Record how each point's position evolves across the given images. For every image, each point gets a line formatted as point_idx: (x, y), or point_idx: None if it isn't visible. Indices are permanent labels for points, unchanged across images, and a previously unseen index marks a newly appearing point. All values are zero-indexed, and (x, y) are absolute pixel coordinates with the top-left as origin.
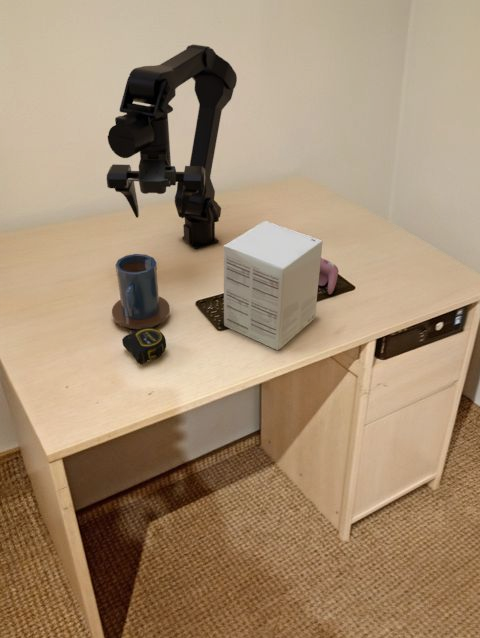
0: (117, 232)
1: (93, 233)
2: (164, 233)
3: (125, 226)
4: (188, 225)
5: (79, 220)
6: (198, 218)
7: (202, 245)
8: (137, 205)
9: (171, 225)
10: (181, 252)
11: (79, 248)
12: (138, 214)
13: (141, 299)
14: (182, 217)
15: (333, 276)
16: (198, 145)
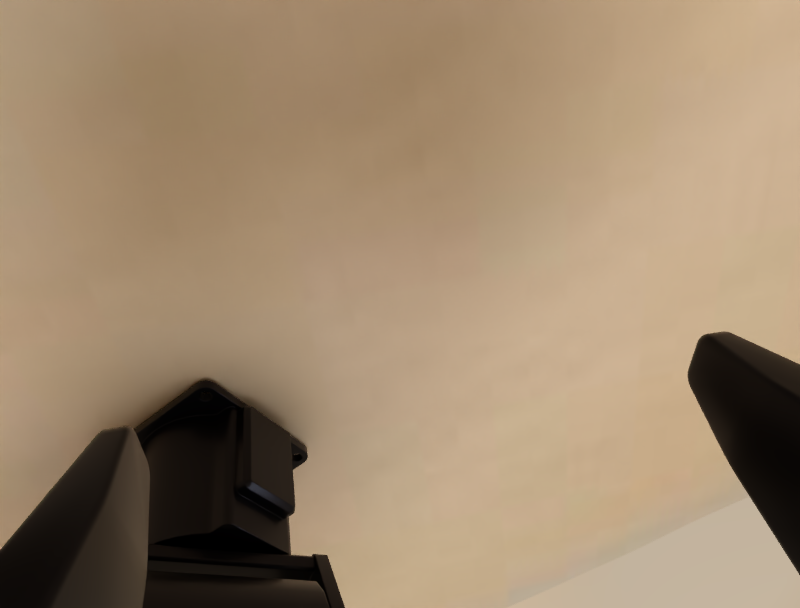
0: (612, 434)
1: None
2: (404, 469)
3: (578, 478)
4: (259, 508)
5: None
6: (186, 564)
7: (173, 411)
8: (770, 485)
9: (382, 525)
10: (282, 341)
11: (791, 289)
12: (700, 382)
13: None
14: (111, 434)
15: None
16: None
